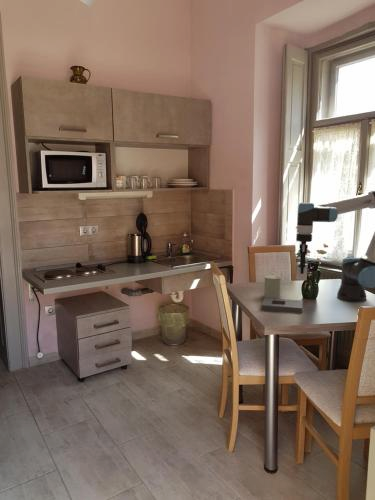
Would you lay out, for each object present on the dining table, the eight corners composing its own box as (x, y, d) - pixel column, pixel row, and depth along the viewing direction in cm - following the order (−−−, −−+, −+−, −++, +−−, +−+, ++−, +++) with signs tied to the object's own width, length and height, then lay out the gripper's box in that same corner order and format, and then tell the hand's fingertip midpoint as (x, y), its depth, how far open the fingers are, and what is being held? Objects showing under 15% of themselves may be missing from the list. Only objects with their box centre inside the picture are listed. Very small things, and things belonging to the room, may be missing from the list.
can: (280, 299, 222) (281, 278, 220) (263, 298, 224) (264, 277, 222) (280, 294, 231) (280, 274, 229) (264, 294, 233) (264, 274, 231)
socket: (302, 305, 210) (302, 300, 210) (302, 313, 197) (302, 308, 197) (264, 302, 216) (264, 297, 216) (261, 309, 203) (261, 305, 203)
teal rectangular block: (306, 278, 205) (307, 263, 204) (306, 280, 202) (307, 265, 200) (296, 278, 207) (297, 263, 206) (296, 279, 203) (297, 264, 202)
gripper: (297, 231, 210) (294, 274, 213) (296, 234, 194) (293, 281, 197) (312, 232, 208) (309, 275, 211) (312, 235, 191) (309, 282, 195)
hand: (301, 278), depth 204 cm, fingers closed on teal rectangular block, 4 cm apart
